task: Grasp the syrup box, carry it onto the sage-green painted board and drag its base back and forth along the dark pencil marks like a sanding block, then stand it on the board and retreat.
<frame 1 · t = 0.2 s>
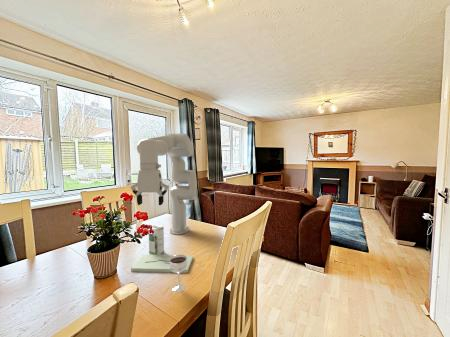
hand: (150, 204, 89), 30 cm above the table, fingers open, 9 cm apart
wineglass: (179, 288, 78), on the table
board: (163, 264, 94), on the table
syrup box: (156, 253, 105), on the table
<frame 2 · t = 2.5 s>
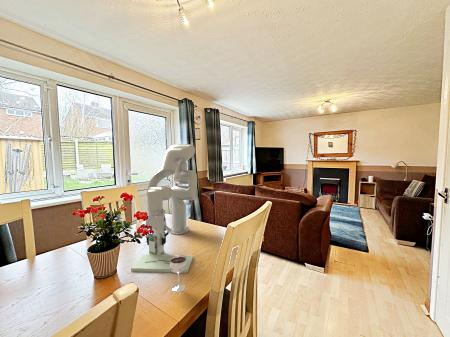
hand: (156, 244, 105), 5 cm above the table, fingers closed on syrup box, 7 cm apart
syrup box: (156, 253, 105), on the table, touching gripper
everything else where it was.
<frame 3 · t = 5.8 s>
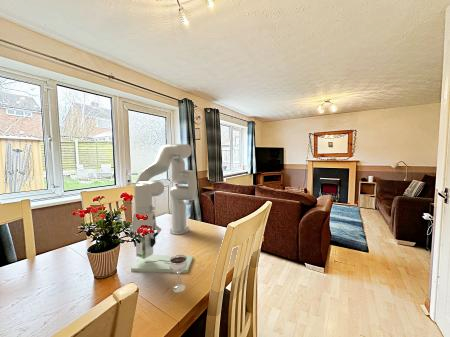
hand: (144, 245, 94), 10 cm above the table, fingers closed on syrup box, 7 cm apart
syrup box: (145, 255, 94), point 5 cm above the table, touching gripper
everything else where it was.
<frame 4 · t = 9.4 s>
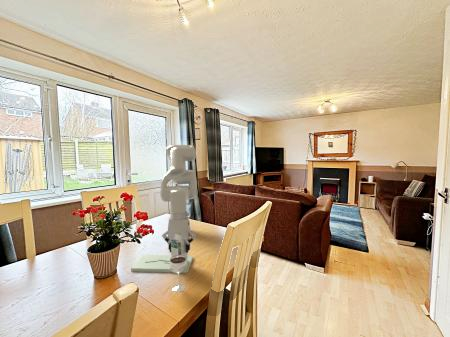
hand: (179, 251, 93), 7 cm above the table, fingers closed on syrup box, 7 cm apart
syrup box: (179, 261, 94), point 2 cm above the table, touching gripper
everything else where it was.
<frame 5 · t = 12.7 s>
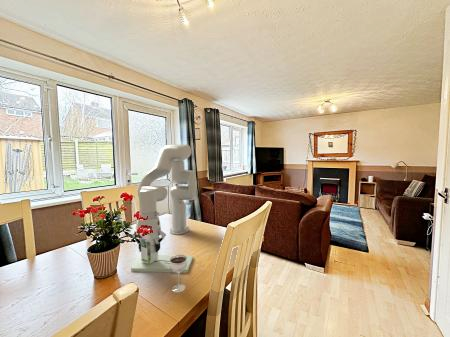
hand: (149, 250, 94), 7 cm above the table, fingers closed on syrup box, 7 cm apart
syrup box: (149, 260, 94), point 2 cm above the table, touching gripper
everything else where it was.
when the fingers open (7 cm above the table, at t = 15.9 s): syrup box stays where it is, resting on board.
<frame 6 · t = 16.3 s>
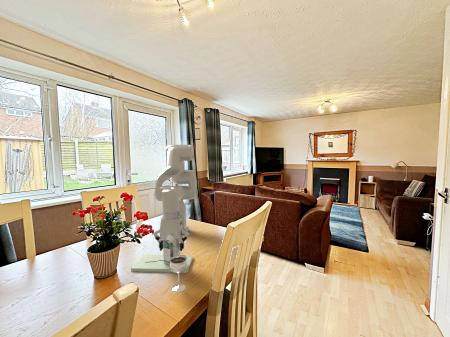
hand: (171, 249, 93), 7 cm above the table, fingers open, 9 cm apart
syrup box: (171, 261, 94), point 1 cm above the table, touching board
everything else where it was.
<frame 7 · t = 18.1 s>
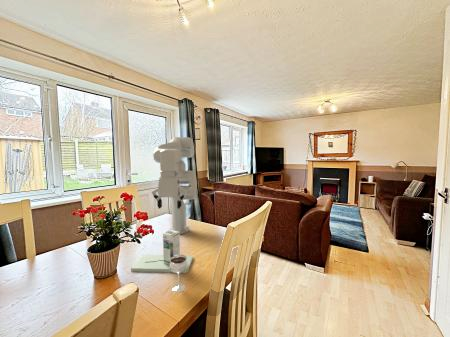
hand: (169, 207, 98), 26 cm above the table, fingers open, 9 cm apart
nothing on the table moved.
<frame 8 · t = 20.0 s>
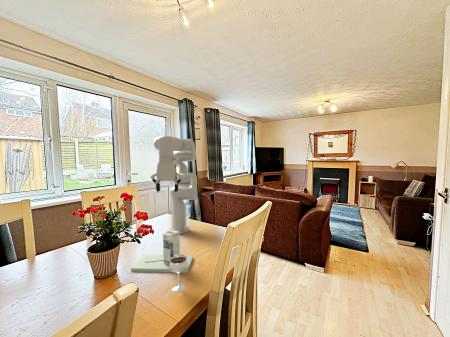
hand: (167, 191, 105), 33 cm above the table, fingers open, 9 cm apart
nothing on the table moved.
at the end: syrup box inside the target area on the board (3.9 cm from its centre), point 1.4 cm above the board's base; syrup box tilted 0°; syrup box moved 16.2 cm from its start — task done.
